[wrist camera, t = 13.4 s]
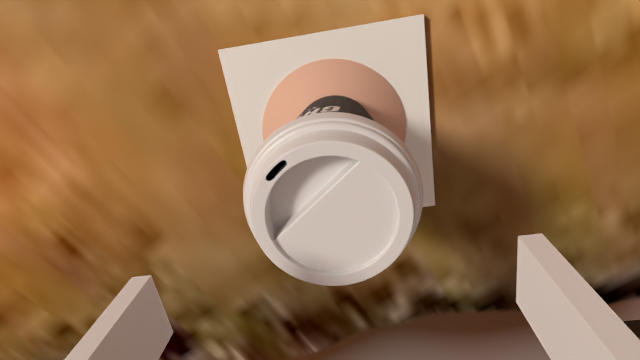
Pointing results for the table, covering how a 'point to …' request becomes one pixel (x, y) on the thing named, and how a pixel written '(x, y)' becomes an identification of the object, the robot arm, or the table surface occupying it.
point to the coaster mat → (336, 83)
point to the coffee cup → (333, 194)
